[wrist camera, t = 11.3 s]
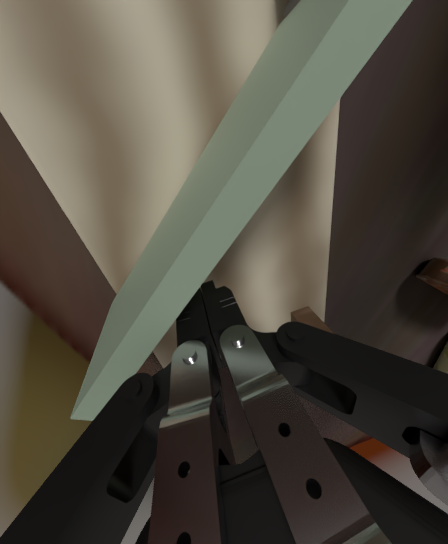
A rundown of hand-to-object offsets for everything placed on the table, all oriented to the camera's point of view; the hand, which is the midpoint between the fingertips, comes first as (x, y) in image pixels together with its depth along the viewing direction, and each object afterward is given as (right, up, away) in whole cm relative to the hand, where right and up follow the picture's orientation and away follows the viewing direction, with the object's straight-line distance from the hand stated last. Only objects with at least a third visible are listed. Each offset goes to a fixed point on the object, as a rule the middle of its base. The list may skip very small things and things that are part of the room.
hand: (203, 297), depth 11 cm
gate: (-1, +7, +2) cm, 7 cm away
